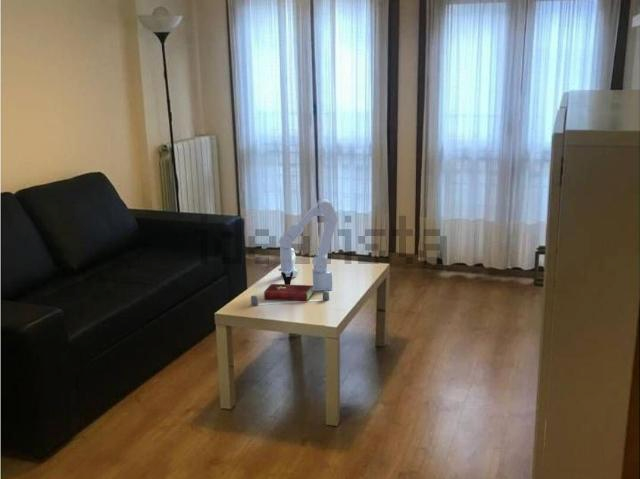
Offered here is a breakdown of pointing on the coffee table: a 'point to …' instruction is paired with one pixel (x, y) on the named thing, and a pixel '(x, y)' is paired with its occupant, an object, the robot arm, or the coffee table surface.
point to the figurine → (295, 269)
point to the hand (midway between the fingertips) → (287, 286)
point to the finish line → (255, 301)
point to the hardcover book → (288, 292)
